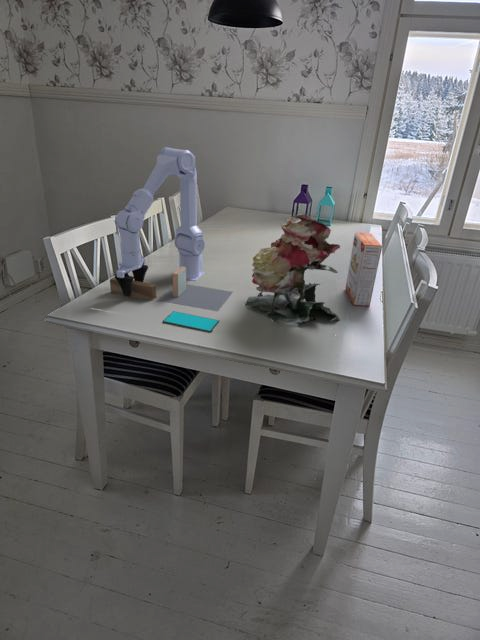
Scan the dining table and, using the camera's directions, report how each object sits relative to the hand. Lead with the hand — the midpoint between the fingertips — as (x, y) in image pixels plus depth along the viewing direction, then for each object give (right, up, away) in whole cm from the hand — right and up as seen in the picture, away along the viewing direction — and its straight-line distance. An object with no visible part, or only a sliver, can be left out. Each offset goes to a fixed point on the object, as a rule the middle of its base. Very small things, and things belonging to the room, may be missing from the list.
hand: (133, 291), depth 136 cm
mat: (+20, -2, +3) cm, 20 cm away
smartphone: (+20, -10, -13) cm, 26 cm away
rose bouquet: (+49, -6, -1) cm, 49 cm away
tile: (+14, 0, +4) cm, 15 cm away
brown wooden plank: (0, -2, +1) cm, 2 cm away
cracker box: (+74, -2, +10) cm, 75 cm away
